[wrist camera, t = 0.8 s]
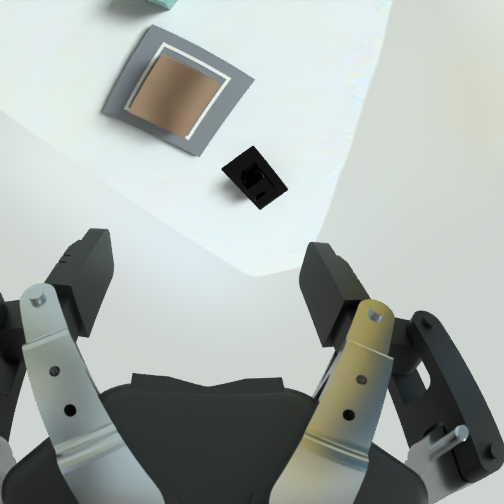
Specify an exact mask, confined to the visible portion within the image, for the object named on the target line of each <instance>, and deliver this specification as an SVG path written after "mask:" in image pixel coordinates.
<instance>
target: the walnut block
mask: <svg viewBox="0 0 504 504" xmlns="http://www.w3.org/2000/svg"><path fill="white" fill-rule="evenodd" d="M219 87H220V84H219V82H218V81H217V80H215V79H213V78H212V77H210V76H208V75H206V74H204V73H203V72H201V71H199V70H197V69H195V68H193V67H191V66H189V65H188V64H186V63H184V62H182V61H180V60H178V59H176V58H174V57H172V56H169V55H167V54H162V55H161V57H160V58H159V60H158V61H157V63H156V64H155V66H154V68H153V69H152V71H151V72H150V74H149V76H148V77H147V79H146V81H145V82H144V84H143V86H142V88H141V89H140V91H139V93H138V95H137V97H136V98H135V100H134V102H133V104H132V106H131V108H130V110H129V112H130V113H132V114H134V115H136V116H139V117H141V118H143V119H145V120H147V121H149V122H151V123H153V124H156V125H158V126H160V127H162V128H164V129H166V130H168V131H170V132H172V133H174V134H176V135H178V136H180V137H182V138H184V139H185V137H186V135H187V134H188V132H189V131H190V129H191V128H192V126H193V124H194V123H195V121H196V120H197V118H198V117H199V115H200V114H201V112H202V111H203V109H204V108H205V106H206V105H207V103H208V102H209V101H210V99H211V98H212V96H213V95H214V93H215V92H216V91H217V89H218V88H219Z"/></svg>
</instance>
